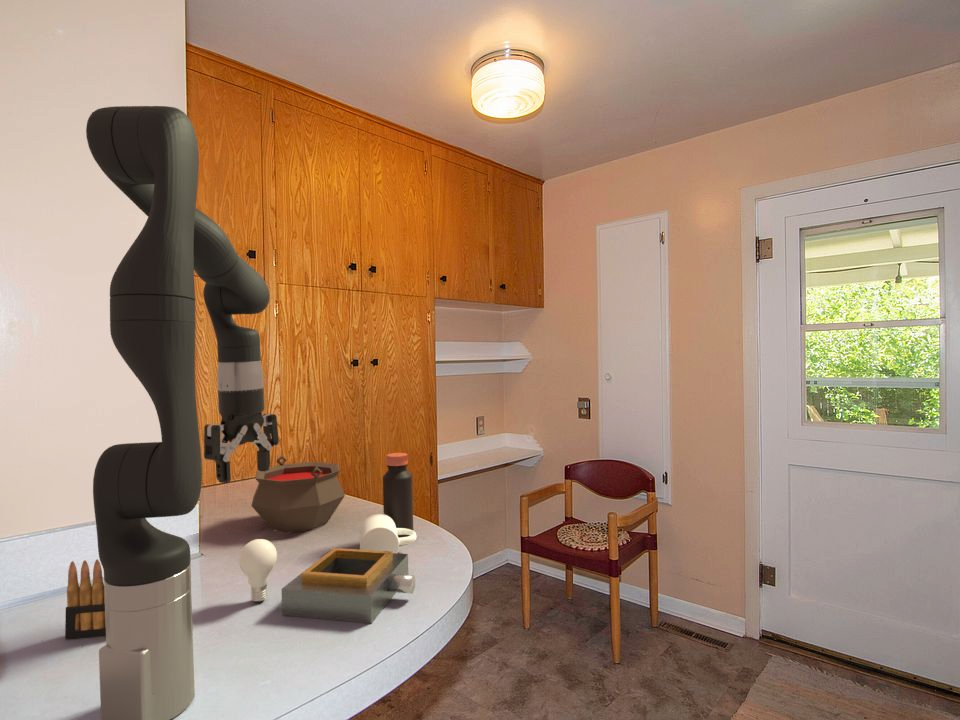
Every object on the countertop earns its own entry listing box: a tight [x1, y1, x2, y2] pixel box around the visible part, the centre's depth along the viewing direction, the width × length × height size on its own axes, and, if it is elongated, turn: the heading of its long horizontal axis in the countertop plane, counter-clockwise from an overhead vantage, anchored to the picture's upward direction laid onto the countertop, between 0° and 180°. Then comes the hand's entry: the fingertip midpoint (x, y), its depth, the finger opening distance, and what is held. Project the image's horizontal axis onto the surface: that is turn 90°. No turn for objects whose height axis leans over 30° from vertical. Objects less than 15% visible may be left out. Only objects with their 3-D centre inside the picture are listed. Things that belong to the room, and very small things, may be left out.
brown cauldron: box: [251, 454, 346, 533], centre depth 139 cm, size 24×24×16 cm
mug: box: [359, 512, 417, 553], centre depth 116 cm, size 12×10×8 cm
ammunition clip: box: [64, 558, 106, 641], centre depth 86 cm, size 11×2×12 cm, turn 99°
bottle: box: [382, 452, 414, 538], centre depth 125 cm, size 7×7×20 cm
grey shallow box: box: [281, 547, 416, 625], centre depth 97 cm, size 18×20×6 cm
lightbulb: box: [238, 538, 278, 603], centre depth 96 cm, size 6×6×11 cm
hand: (244, 476), depth 97 cm, fingers open, 8 cm apart
